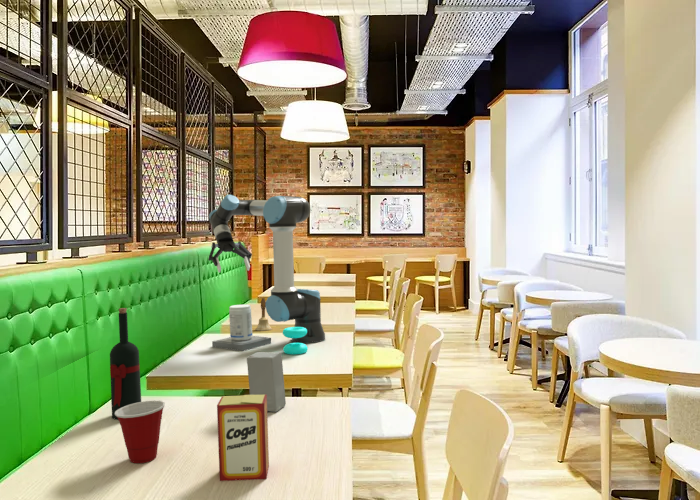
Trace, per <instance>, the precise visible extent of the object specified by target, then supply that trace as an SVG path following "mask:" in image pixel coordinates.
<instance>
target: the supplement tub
mask: <svg viewBox="0 0 700 500" xmlns="http://www.w3.org/2000/svg"><path fill="white" fill-rule="evenodd" d="M251 307H252V306H251V305H250V304H245V303H243V304H232V305H230V306H229V307H228V308H229V311H228V313H229V314H228V315H229V333H230V334H229V335H230V336H229V337H231V339H232V340H234V341H243V340H248V339H251V338H252V336H253V323H252V321H253V317H252V308H251Z"/></svg>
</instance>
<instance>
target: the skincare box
mask: <svg viewBox="0 0 700 500" xmlns="http://www.w3.org/2000/svg"><path fill="white" fill-rule="evenodd" d="M246 364H247V365H246V367H247V375H248V387H249V395H266V394H267V412H276V413H277V412H278V411H280V410H281V409H283V408H284V407H286V405H287V401H286V392H285V391H286V390H285V378H284V365H283V357H282V351H281V352H279V351H277V352H272V351H271V352H269V351H268V352H267V351H265V352H264V351H256V352H254V353H253V354H251V355H249V356H247V357H246Z"/></svg>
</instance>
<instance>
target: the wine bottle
mask: <svg viewBox="0 0 700 500" xmlns="http://www.w3.org/2000/svg"><path fill="white" fill-rule="evenodd" d="M127 311H128V307H120V308H118V331H119V342H117V344H115V345H114V346H113V347H112V348H111V350H110V353H109V373H110V375H109V377H110V395H111V396H110V399H111V403H110V405H111V419H114V420H117V421H119V420H118V418H117V416H115V411H116V410H118V409H120V408H122V407H124V406H127V405H130V404H134V403H138V402H142V390H141V387H142V386H141V385H142V384H141V370H140V369H141V368H140V367H141V366H140V351H139V348H138V347H137V346H136V344H134V343H133V342H131V341H129V326H128V312H127Z"/></svg>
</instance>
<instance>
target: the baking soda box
mask: <svg viewBox="0 0 700 500" xmlns="http://www.w3.org/2000/svg"><path fill="white" fill-rule="evenodd" d="M216 409H217V411H216V415H217V417H216V418H217V439H218V440H217V441H218V445H217V446H218V466H219V467H218V469H219V470H218V471H219V473H218V474H219V482H229V481H231V482H233V481H250V480H252V481H253V480H267V478H268V473H269V467H270V459H269V458H270V457H269V455H270V454H269V425H268V422H269V421H268V411H267V394H266V395H250V394H244V395H226V396H225V395H223V396H221V398H220V399H219V402H218V403H217V405H216Z"/></svg>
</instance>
